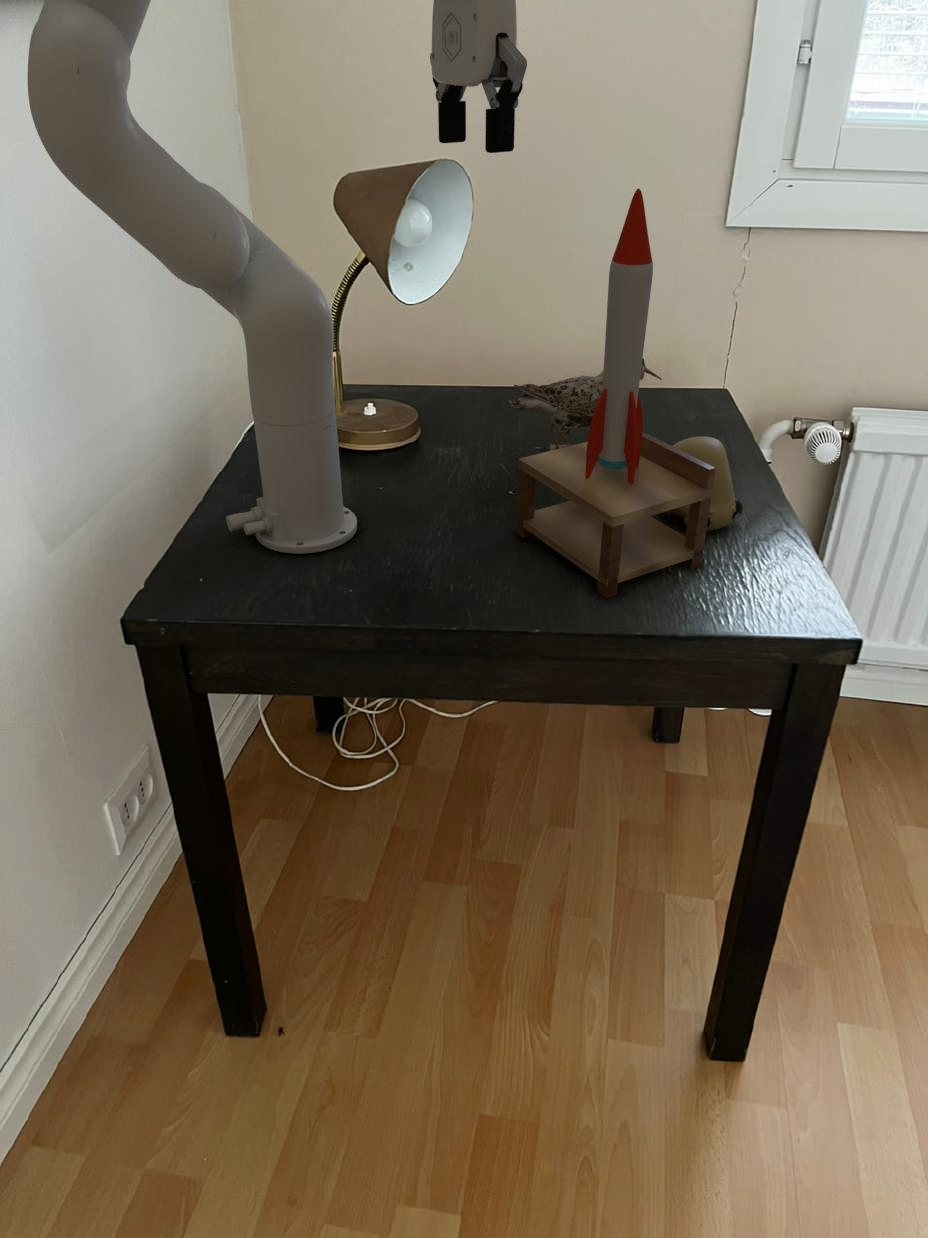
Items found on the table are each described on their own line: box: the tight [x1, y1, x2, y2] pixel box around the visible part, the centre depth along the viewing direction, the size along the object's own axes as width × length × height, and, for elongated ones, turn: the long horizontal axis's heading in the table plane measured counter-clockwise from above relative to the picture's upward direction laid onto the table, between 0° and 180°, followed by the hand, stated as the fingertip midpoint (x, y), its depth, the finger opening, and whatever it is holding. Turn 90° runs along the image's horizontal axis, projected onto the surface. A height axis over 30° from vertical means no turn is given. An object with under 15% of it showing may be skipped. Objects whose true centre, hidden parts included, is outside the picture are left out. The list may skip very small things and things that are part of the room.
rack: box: [515, 431, 716, 599], centre depth 111 cm, size 14×18×12 cm
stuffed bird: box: [509, 357, 663, 451], centre depth 132 cm, size 10×20×17 cm, turn 106°
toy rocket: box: [585, 187, 654, 485], centre depth 101 cm, size 6×6×30 cm
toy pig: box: [669, 436, 744, 532], centre depth 119 cm, size 10×12×11 cm
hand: (475, 146), depth 102 cm, fingers open, 9 cm apart
